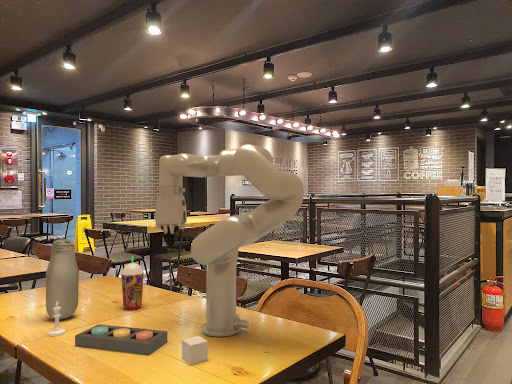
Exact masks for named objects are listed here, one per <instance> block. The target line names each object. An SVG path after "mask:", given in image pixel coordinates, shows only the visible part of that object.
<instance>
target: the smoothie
mask: <svg viewBox="0 0 512 384" xmlns="http://www.w3.org/2000/svg"><path fill="white" fill-rule="evenodd" d="M144 273H145V272H144V270H143V268H142V266H141V265H140V264H138V263H135V262H134V255H132V256H131V263H128V264H127V265H125V266H124V267H123V269H122V271H121V273H120V274H121V277H120V278H121V293H122V304H123V306H122V307H124V309H125V310H126V311H136V310H138V309H141V305H143V293H144V291H143V289H144V275H145V274H144Z"/></svg>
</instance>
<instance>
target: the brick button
mask: <svg viewBox="0 0 512 384" xmlns="http://www.w3.org/2000/svg"><path fill="white" fill-rule="evenodd" d="M151 338H153V332H152V331H140V332H138V333H136V339H137V340H146V341H148V340H150V339H151Z"/></svg>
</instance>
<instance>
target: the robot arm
mask: <svg viewBox="0 0 512 384" xmlns="http://www.w3.org/2000/svg"><path fill="white" fill-rule="evenodd" d="M273 162H274V159H273V156H272V154H271V152H270V151H269V149H267V148H265V147H262V146H259V145H255V144H252V143H251V144H249V143H246V144H243V145H241V146H239V147H238V148H230V149H223V150H220V152H219V154H216V155H215V154H214V155H198V154H191V153H178V154H175V155H170V154H169V155H162V156H160V158H159V161H158V171H159V173H158V174H159V175H158V178H159V179H158V183H159V186H158V187H159V188H158V190H159V191H158V193H159V194H158V195H157V197H156V203H155V210H154V222H155V228H157V229H160V230H162V232H163V233H164V235H165V245H166V246H170V247H171V246H175V244H176V234H177V233H178V231H179V230H182V229H184V228H186V223H187V222H188V221H187V220H188V218H187V217H188V215H187V213H188V212H187V205H186V204H187V203H186V198H185V195H183V193H185V192H186V188H185V187H183V186H182V183H183V182H182V180H183V179H182V178H183V177H191V178H192V177H193V178H214V177H216V178H217V177H235V176H239V177H240V176H243V177H244V178H245V180H247V181H248V182H249V183H250V184H251V185H252V186H253V187H254V188H255V189H256V190H257V191H258V192H259V193H260V194H262V196H264V197H265V198H268V200H267V201H265V202H263V203H261V204H260V205H258V206H256V207H255V208H254V209H252V210H250V211H248V212H246V213H244V214H235V215H229V216H227V217H225V218H223V219H221V220H219V221H218V222H216V223H215V224H213V225H211V226H210V227H209V228H207V229H206V230H204V231H203V232H200V233H199V234H198V235H197V236H196V237H195V238H194V239H193V241H192V243H191V247H190V254H191V257H192V258H193V260H194V261H195V262H196V263H198V264H199V265H202V266H207V267H206V277H205V280H206V282H205V283H206V284H205V285H206V286H205V287H206V288H205V289H206V291H205V293H206V294H205V295H206V296H205V297H206V298H205V300H206V303H205V304H206V307H205V308H206V310H205V311H206V320H205V321H206V322H205V323H204V324H203V325H202V326H201V333H203V334H204V335H206V336H210V337H217V338H219V337H220V338H221V337H229V336H234V335H236V334H238V333H240V332H241V331H242V328H243V329H249V325H250V323H249V321H248V319H245V318H244V319H241V318H240V314H238V313H237V262H238V255H239V249H240V248H243V247H246V246H251V245H252V244H254V243H256V242H257V241H258V240H260V239H261V238H262V237H264V236H266V235H268V234H269V233H272V232H273V231H274V230H275V229H277V228H279V227H280V226H281V225H283V224H285V223H287V221H289V220H290V219H292V218H293V217H294V216H295V215H296V214H297V212H298V211H299V210H300V208H301V207H302V205H303V200H304V196H305V188H304V183H303V181H302V179H301V178H300V176H298V175H297V174H296V173H294V172H290V171H286V170H281V169H279V168H278V167H277V166H276V165H275V164H274V163H273Z"/></svg>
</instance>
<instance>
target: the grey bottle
mask: <svg viewBox="0 0 512 384" xmlns="http://www.w3.org/2000/svg"><path fill="white" fill-rule="evenodd" d="M75 248H76V246H75V243H74V242H73V241H72V240H71V239H69V238H63V239H62V238H60V239H57V240H55V241H54V242H53V243H52V245H51V247H50V251H51V252H50V258H49V262H48V265H47V267H46V272H45V308H46V313H47V315H48V316H49V317H50V318H51V319H53V320H55V317H53V315H55V312H54V309H53V308H55V307H56V301H58V307H60V311H59V314H61V316H59V321H60V320H65V319H68V318H71V316H73V315H74V314H75V312H76V311H77V309H78V306H79V283H80V273H79V272H80V271H79V267H78V264H77V259H76V253H75V251H76V250H75Z"/></svg>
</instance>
